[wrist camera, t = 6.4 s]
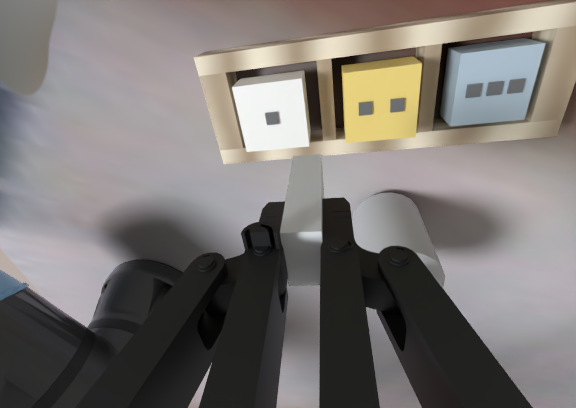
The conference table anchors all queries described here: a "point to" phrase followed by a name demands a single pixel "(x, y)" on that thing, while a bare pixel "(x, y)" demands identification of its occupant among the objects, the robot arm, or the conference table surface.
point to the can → (395, 229)
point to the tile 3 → (490, 81)
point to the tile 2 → (381, 99)
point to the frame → (428, 41)
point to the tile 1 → (273, 111)
